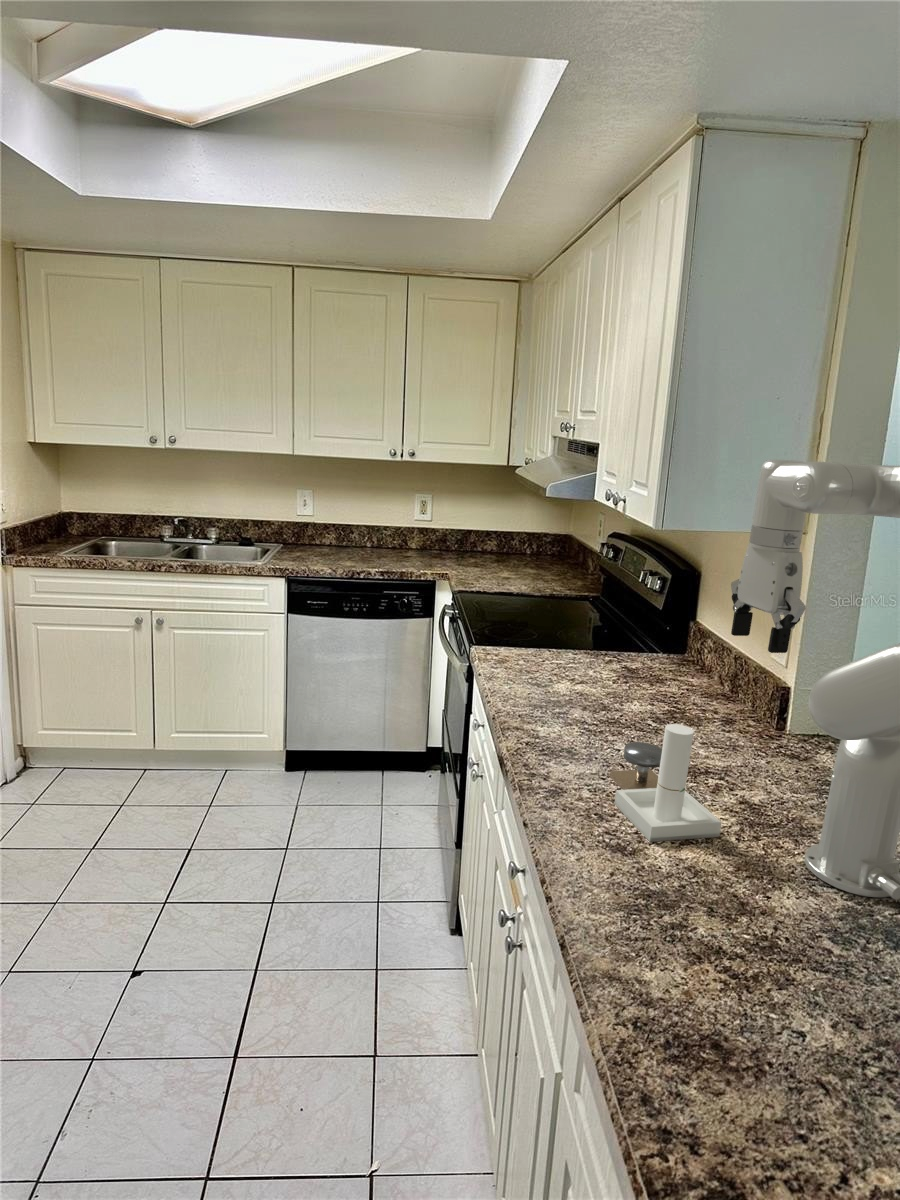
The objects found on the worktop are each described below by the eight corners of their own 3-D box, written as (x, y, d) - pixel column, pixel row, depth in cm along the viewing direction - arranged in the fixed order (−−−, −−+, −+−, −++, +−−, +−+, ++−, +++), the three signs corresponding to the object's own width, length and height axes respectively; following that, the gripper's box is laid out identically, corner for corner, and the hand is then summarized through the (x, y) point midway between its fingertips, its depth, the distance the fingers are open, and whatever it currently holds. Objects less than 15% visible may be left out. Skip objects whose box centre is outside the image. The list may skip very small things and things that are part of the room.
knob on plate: (672, 794, 133) (677, 759, 132) (630, 797, 131) (635, 761, 130) (649, 774, 141) (654, 740, 139) (609, 776, 139) (614, 741, 137)
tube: (661, 824, 121) (674, 735, 118) (648, 811, 125) (660, 724, 122) (685, 822, 122) (699, 734, 119) (671, 809, 126) (684, 723, 123)
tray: (719, 836, 120) (721, 822, 119) (649, 841, 117) (651, 826, 116) (678, 800, 131) (680, 786, 131) (614, 804, 128) (616, 790, 128)
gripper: (834, 549, 115) (814, 659, 118) (761, 532, 131) (745, 629, 135) (791, 547, 113) (772, 659, 116) (722, 530, 129) (707, 629, 133)
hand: (758, 643), depth 126 cm, fingers open, 9 cm apart
